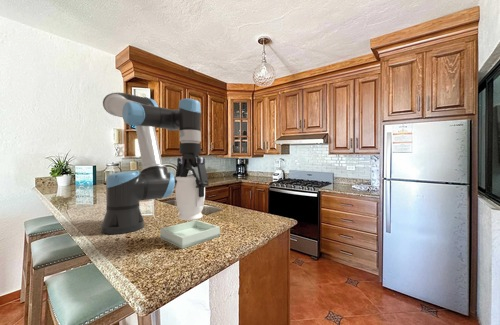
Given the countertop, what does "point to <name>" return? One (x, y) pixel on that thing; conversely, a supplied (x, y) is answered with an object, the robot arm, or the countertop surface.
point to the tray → (189, 233)
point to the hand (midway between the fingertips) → (190, 204)
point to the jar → (187, 198)
